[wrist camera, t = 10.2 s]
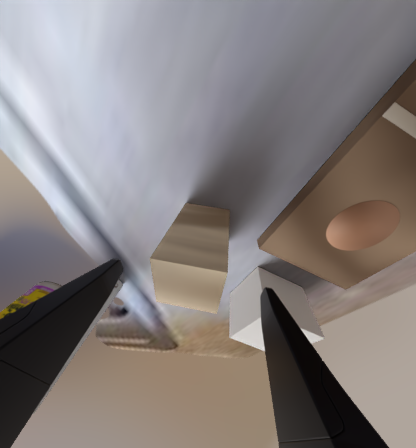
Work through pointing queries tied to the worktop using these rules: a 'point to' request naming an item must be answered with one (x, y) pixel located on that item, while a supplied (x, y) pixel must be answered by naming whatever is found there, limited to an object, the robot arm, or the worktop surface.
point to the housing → (251, 309)
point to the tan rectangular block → (193, 259)
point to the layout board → (357, 198)
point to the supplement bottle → (30, 297)
